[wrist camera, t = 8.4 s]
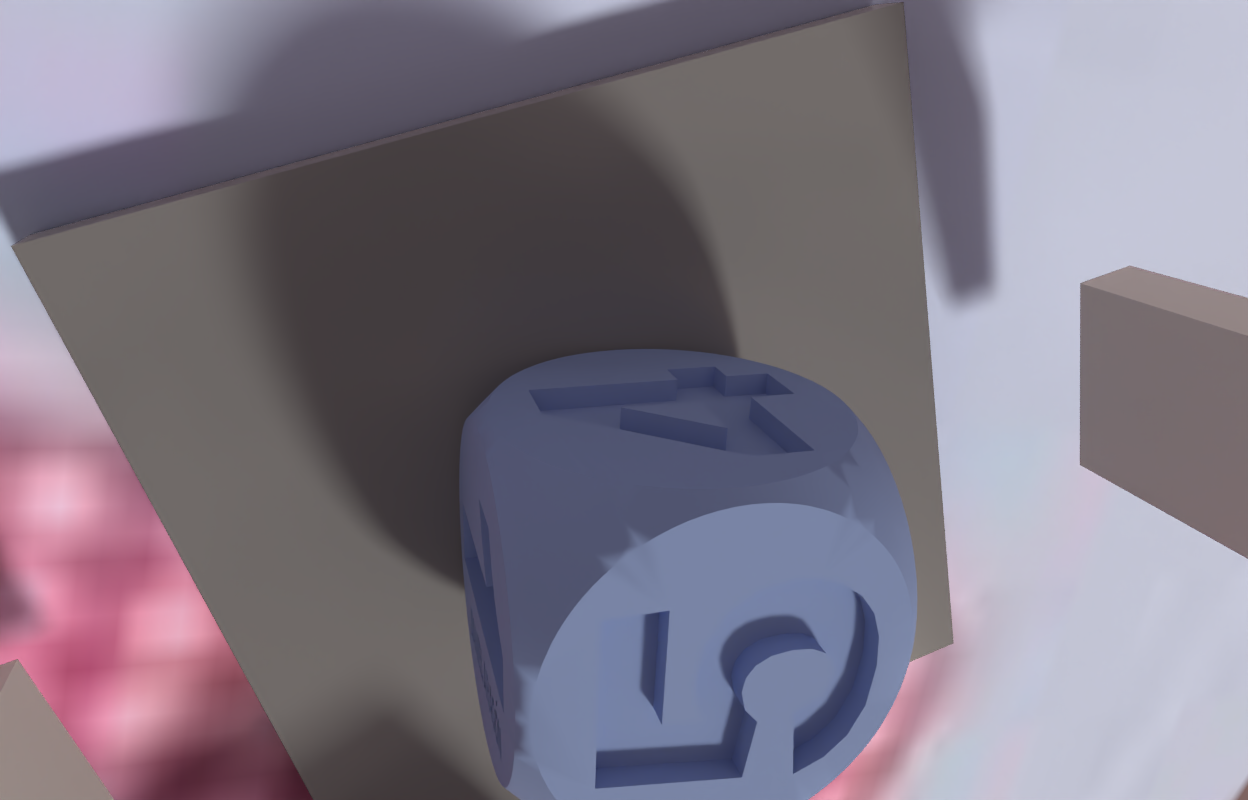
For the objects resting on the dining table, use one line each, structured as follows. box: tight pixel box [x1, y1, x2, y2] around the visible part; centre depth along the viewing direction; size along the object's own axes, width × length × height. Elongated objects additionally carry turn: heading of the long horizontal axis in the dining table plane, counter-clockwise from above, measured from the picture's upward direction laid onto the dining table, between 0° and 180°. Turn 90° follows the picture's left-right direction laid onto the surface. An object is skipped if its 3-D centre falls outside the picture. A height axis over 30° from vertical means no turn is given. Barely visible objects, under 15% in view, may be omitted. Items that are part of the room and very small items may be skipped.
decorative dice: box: [459, 349, 917, 800], centre depth 10 cm, size 4×4×4 cm
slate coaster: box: [11, 2, 953, 800], centre depth 12 cm, size 10×10×1 cm
